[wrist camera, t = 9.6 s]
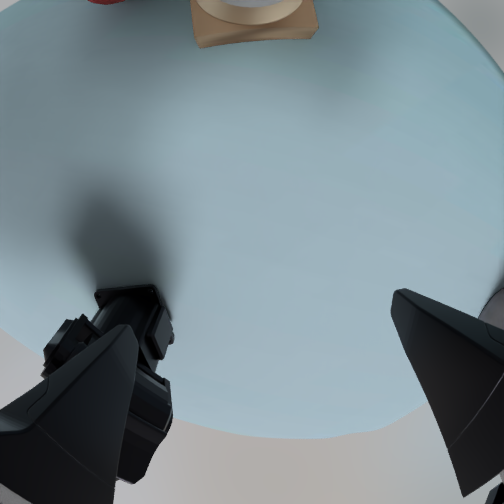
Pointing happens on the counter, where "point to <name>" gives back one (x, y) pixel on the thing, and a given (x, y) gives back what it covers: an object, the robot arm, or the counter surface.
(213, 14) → the pedestal
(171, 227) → the counter surface
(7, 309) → the counter surface
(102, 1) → the pomegranate
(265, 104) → the counter surface
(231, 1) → the energy drink can
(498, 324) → the pillar candle
